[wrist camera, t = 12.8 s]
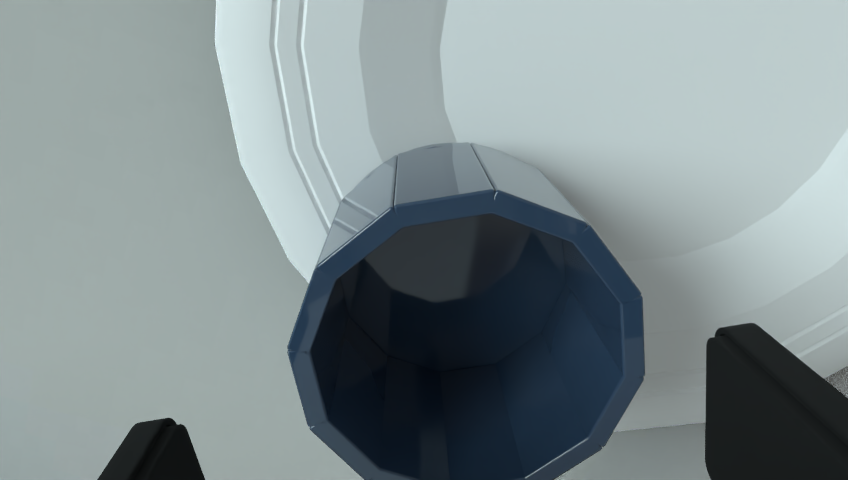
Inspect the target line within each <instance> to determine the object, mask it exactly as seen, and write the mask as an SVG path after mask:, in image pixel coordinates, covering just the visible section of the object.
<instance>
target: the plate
mask: <svg viewBox="0 0 848 480" xmlns="http://www.w3.org/2000/svg"><path fill="white" fill-rule="evenodd" d="M215 47H216V52H217V57H218V61H219V66H220V71H221V75H222V80H223V85H224V89H225V94H226V99H227V103H228V108H229V113H230V117H231V122H232V127H233V131H234V136H235V141H236V145H237V150H238V155H239V159H240V163H241V165H242V167H243V169H244V171H245V173H246V175H247V177H248V179H249V181H250V183H251V185H252V187H253V189H254V191H255V193H256V195H257V197H258V199H259V201H260V203H261V205H262V207H263V209H264V211H265V213H266V215H267V217H268V219H269V221H270V223H271V225H272V227H273V229H274V231H275V233H276V235H277V237H278V239H279V241H280V243H281V245H282V247H283V249H284V251H285V253H286V255H287V257H288V259H289V261H290V262H291V263H292V264H293V266H294V267H295V268H296V269H297V270H298V271H299V272H300V274H301V275H302V276H303V277H304V278H305V279H306V280H307V282H308V283H310V280H311V277H312V274H313V271H314V268H315V266H316V263H317V260H318V258H319V255H320V253H321V250H322V248H323V245H324V242H325V240H326V237H327V235H328V232H329V230H330V227H331V224H332V222H333V219H334V217H335V214H336V211H337V209H338V206H339V204H340V201H341V200H342V199H343V197H345V196H346V195H347V194H348V193H349V192H351V191H352V190H353V189H354V188H355V186H356V185H357V184H358V183H359V182H360V181H361V180H362V179H363V178H364V177H365V176H367V175H368V174H369V173H370V172H371V171H373V170H374V169H375V168H377V167H378V166H380V165H381V164H382V163H384V162H386V161H388V160H389V159H391V158H392V157H393V156H395V155H398V154H399V153H404V152H407V151H409V150H412V149H415V148H419V147H423V146H427V145H432V144H440V143H465V142H469V143H470V144H471V143H475V144H478V145H482V146H487V147H490V148H493V149H497V150H500V151H503V152H505V153H507V154H509V155H511V156H513V157H516V158H518V159H519V160H521V161H522V162H525V163H527V164H530V165H533V166H535V167H536V168H537V169H539V170H540V171H541V172H542V173H543V174H544V175H545V176H546V177H547V178H548V179H549V181H550V182H551V183H552V184H553V185H554V186H555V187H556V188H557V189H558V190H559V191H560V192H561V194H562V195H563V196H564V197H565V198H566V199H567V200H568V201H569V202H570V203H571V204H572V205H573V207H574V208H575V209H576V210H577V211H578V212H579V213H580V214H581V215H582V216H583V217H584V218H585V219H586V221H587V222H588V223H589V224H590V225H591V226H592V227H593V229H594V230H595V231H596V233H597V234H598V235H599V237H600V238H601V239H602V241H603V242H604V243H605V245H606V246H607V247H608V249H609V250H610V251H611V253H612V254H613V255H614V257H615V258H616V259H617V261H618V262H619V263H620V265H621V266H622V267H623V269H624V270H625V271H626V273H627V274H628V275H629V277H630V278H631V279H632V281H633V282H634V283H635V285H636V286H637V287H638V289H639V290H640V291H641V295H642V297H643V319H644V351H645V376H643V377H644V380H643V382H642V384H641V386H640V387H639V389H638V391H637V392H636V394H635V396H634V397H633V399H632V401H631V402H630V404H629V406H628V408H627V409H626V411H625V413H624V414H623V416H622V418H621V419H620V421H619V423H618V424H617V426H616V428H615V430H614V431H613V432H618V431H628V430H638V429H648V428H658V427H668V426H678V425H688V424H698V423H705V422H706V345H707V341H708V339H709V338H712V337H715V333H716V331H717V329H719V328H721V327H727V326H733V325H739V324H746V323H755V324H756V325H758V326H759V327H761V328H762V329H763V330H764V331H765V332H767V333H768V334H769V335H770V336H772V337H773V338H774V339H775V340H777V341H778V342H779V343H780V344H781V345H783V346H784V347H785V348H786V349H788V350H789V351H790V352H791V353H793V354H794V355H795V356H796V357H797V358H799V359H800V360H801V361H802V362H804V363H805V364H806V365H807V366H809V367H810V368H811V369H812V370H813V371H815V372H816V373H817V374H818V375H820V376H821V377H822V378H823V379H825V378H827V377H828V376H830V375H832V374H834V373H836V372H837V371H839V370H841V369H843V368H845V367H847V366H848V0H216V20H215Z"/></svg>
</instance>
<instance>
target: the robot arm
mask: <svg viewBox="0 0 848 480" xmlns="http://www.w3.org/2000/svg"><path fill="white" fill-rule="evenodd" d="M705 462H706V467H707V470H708V473H709V476H710V478H711V480H848V398H847V397H845V396H844V395H843V394H842V393H841V392H839V391H838V390H837V389H836V388H834V387H833V386H832V385H831V384H829V383H828V382H827V381H826V380H825V379H823V378H822V377H821V376H820V375H818V374H817V373H816V372H815V371H813V370H812V369H811V368H810V367H809V366H807V365H806V364H805V363H804V362H802V361H801V360H800V359H799V358H797V357H796V356H795V355H794V354H793V353H791V352H790V351H789V350H788V349H786V348H785V347H784V346H783V345H781V344H780V343H779V342H778V341H777V340H775V339H774V338H773V337H772V336H770V335H769V334H768V333H767V332H765V331H764V330H763V329H762V328H761V327H759V326H758V325H756V324H755V323H746V324H739V325H733V326H727V327H721V328H719V329H717V331H716V333H715V337H712V338H709V339H708V341H707V345H706V429H705ZM98 480H205V478H204V475H203V473H202V470H201V467H200V464H199V462H198V459H197V456H196V454H195V451H194V448H193V445H192V443H191V440H190V437H189V434H188V432H187V429H186V427H185V426H184V425H181V424H179V425H177V424H176V422H175V421H174V420H173V419H171V418H165V419H159V420H153V421H146V422H140V423H137V424H135V425H134V426H133V427H132V429H131V430H130V432H129V433H128V435H127V436H126V438H125V439H124V441H123V442H122V444H121V445H120V447H119V448H118V450H117V451H116V453H115V454H114V456H113V457H112V459H111V460H110V462H109V463H108V465H107V466H106V468H105V469H104V471H103V472H102V474H101V475H100V477H99V478H98Z"/></svg>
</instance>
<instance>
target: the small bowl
mask: <svg viewBox="0 0 848 480" xmlns="http://www.w3.org/2000/svg"><path fill="white" fill-rule="evenodd" d="M287 348H288V352H287V353H288V356H289V360H290V363H291V367H292V371H293V374H294V378H295V381H296V385H297V389H298V392H299V396H300V399H301V403H302V407H303V410H304V414H305V417H306V421H307V424H308V426H310V430H311V431H312V432H313V433H314V434H315V435H316V436H318V437H319V438H320V439H321V440H322V441H323V442H324V443H325V444H326V445H327V446H328V447H329V448H331V449H332V450H333V451H334V452H335V453H336V454H337V455H338V456H339V457H340V458H341V459H343V460H344V461H345V462H346V463H347V464H348V465H349V466H350V467H351V468H352V469H353V470H354V471H356V472H357V473H358V474H359V475H360V476H361V477H362V478H363V479H364V480H554V479H555V478H557V477H559V476H560V475H562V474H563V473H565V472H566V471H568V470H570V469H571V468H573V467H574V466H576V465H578V464H579V463H581V462H582V461H584V460H585V459H587V458H589V457H590V456H592V455H593V454H595V453H597V452H598V451H600V450H601V449H602V447H604V446H605V445H606V443H607V441H608V440H609V438H610V436H611V435H612V433H613V431H614V430H615V428H616V426H617V424H618V423H619V421H620V419H621V418H622V416H623V414H624V413H625V411H626V409H627V408H628V406H629V404H630V402H631V401H632V399H633V397H634V396H635V394H636V392H637V391H638V389H639V387H640V386H641V384H642V382H643V380H644V377H643V376H645V351H644V319H643V297H642V295H641V291H640V290H639V289H638V287H637V286H636V285H635V283H634V282H633V281H632V279H631V278H630V277H629V275H628V274H627V273H626V271H625V270H624V269H623V267H622V266H621V265H620V263H619V262H618V261H617V259H616V258H615V257H614V255H613V254H612V253H611V251H610V250H609V249H608V247H607V246H606V245H605V243H604V242H603V241H602V239H601V238H600V237H599V235H598V234H597V233H596V231H595V230H594V229H593V227H592V226H591V225H590V224H589V223H588V222H587V221H586V219H585V218H584V217H583V216H582V215H581V214H580V213H579V212H578V211H577V210H576V209H575V208H574V207H573V205H572V204H571V203H570V202H569V201H568V200H567V199H566V198H565V197H564V196H563V195H562V194H561V192H560V191H559V190H558V189H557V188H556V187H555V186H554V185H553V184H552V183H551V182H550V181H549V179H548V178H547V177H546V176H545V175H544V174H543V173H542V172H541V171H540V170H539V169H537V168H536V167H535V166H533V165H530V164H527V163H525V162H522V161H521V160H519V159H518V158H516V157H513V156H511V155H509V154H507V153H505V152H503V151H500V150H497V149H493V148H490V147H487V146H482V145H478V144H475V143H471V144H470V143H469V142H465V143H440V144H432V145H427V146H423V147H419V148H415V149H412V150H409V151H407V152H404V153H399V154H398V155H395V156H393V157H392V158H391V159H389V160H388V161H386V162H384V163H382V164H381V165H380V166H378V167H377V168H375V169H374V170H373V171H371V172H370V173H369V174H368V175H367V176H365V177H364V178H363V179H362V180H361V181H360V182H359V183H358V184H357V185H356V186H355V188H354V189H353V190H352V191H351V192H349V193H348V194H347V195H346V196H345V197H343V199H342V200H341V201H340V204H339V206H338V209H337V211H336V214H335V217H334V219H333V222H332V224H331V227H330V230H329V232H328V235H327V237H326V240H325V242H324V245H323V248H322V250H321V253H320V255H319V258H318V260H317V263H316V266H315V268H314V271H313V274H312V277H311V280H310V283H309V285H308V288H307V291H306V294H305V297H304V300H303V303H302V306H301V309H300V312H299V314H298V317H297V320H296V323H295V326H294V329H293V332H292V335H291V338H290V341H289V344H288V346H287Z"/></svg>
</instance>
